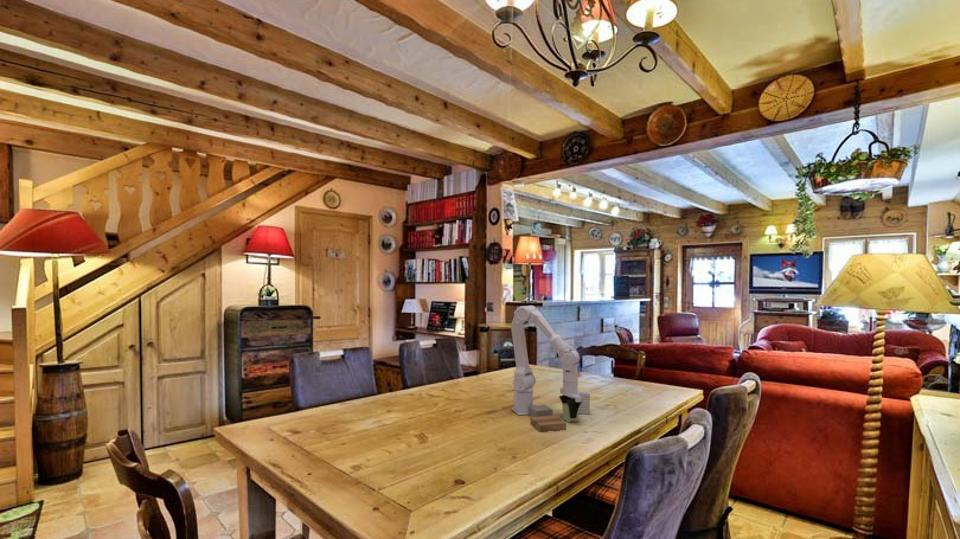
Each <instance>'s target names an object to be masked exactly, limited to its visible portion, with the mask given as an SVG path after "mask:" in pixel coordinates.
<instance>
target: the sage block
mask: <svg viewBox="0 0 960 539" xmlns="http://www.w3.org/2000/svg"><path fill="white" fill-rule="evenodd" d="M562 420H564V421H565V420H566V421H565V422H567V423H571V422H570V421H575V422H579V414H578V412H577V416H576V418H570V412H569V406H568V403H563V405H562Z"/></svg>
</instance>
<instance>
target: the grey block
mask: <svg viewBox="0 0 960 539" xmlns="http://www.w3.org/2000/svg"><path fill="white" fill-rule="evenodd" d="M553 412H554V410H553V409H552V408H551V407H549V406H547V405H546V404H540V405H533V406H529V414H528V416H529V417H530V416H531V417H540V416H554V415H553ZM531 417H530V418H531Z"/></svg>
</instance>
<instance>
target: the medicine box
mask: <svg viewBox="0 0 960 539" xmlns="http://www.w3.org/2000/svg"><path fill="white" fill-rule="evenodd" d="M578 392H580V394H579V395H580V397H581V401H582V403H581V405H580V406H579V409H578V415H591V407H590V406H591V403H590V402H591V401H590V400H591V394H590V392H589V391H588V390H578Z"/></svg>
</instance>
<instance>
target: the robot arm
mask: <svg viewBox="0 0 960 539" xmlns="http://www.w3.org/2000/svg"><path fill="white" fill-rule="evenodd" d="M529 324H531V325H535V326H537V328H539V329H540V331H541V332H543V334H544V335H545V337H546V338H548V339H549V345H550V347H551V348H552V349H553V350H554V351H555V353H556V354H558V357H560V362H561V364H562V387H561V388H560V390H559V391H560V393H559V394H562V395H559V396H558V397H559V399H560V401H561V404H562V406H563V403H568V406H569V412H570V418H576V416H577V412H578V409H579V406H580V405H581V403H582V401H581V397H580V395H579V394H580V392H578V391H579V388H578V387H579V386H578V385H579V383H578V382H579V375H578V374H579V370H578V364H579V362H580V357H581V356H580V354H579V352H578V350H576V349H575V348H573V346H570V345H569V343H568V342H567V341H566V338H565V336H563V335H561V334H556V331H554V329H553V328H552V327H551V325H550V324H549V322H547V320H546V319H545V317H544V316H543V314H542V313H541V311H540V310H538V309H537V307H536V306H535V305H532V304H531V305H522V306H518V307H517V308H516V310H514V311H513V319H512V321H511V324H510V330H511V337H512V344H513V352H514V360H515V370H514V372H513V381H512V385H513V388H514V389H515V391H514V392H513V407H511V410H512V411H513V412H514V413H515V414H516V415H518V416H526V415H528V416H529V406H534V386H535V385H536V381H537V380H536V377H535V376H534V373H533V369H532V368H531V366H530V363H529V357H528V356H529V355H528V348H527V347H528V346H527V341H526V340H527V339H526V332H525V328H526V327H528V325H529Z"/></svg>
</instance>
